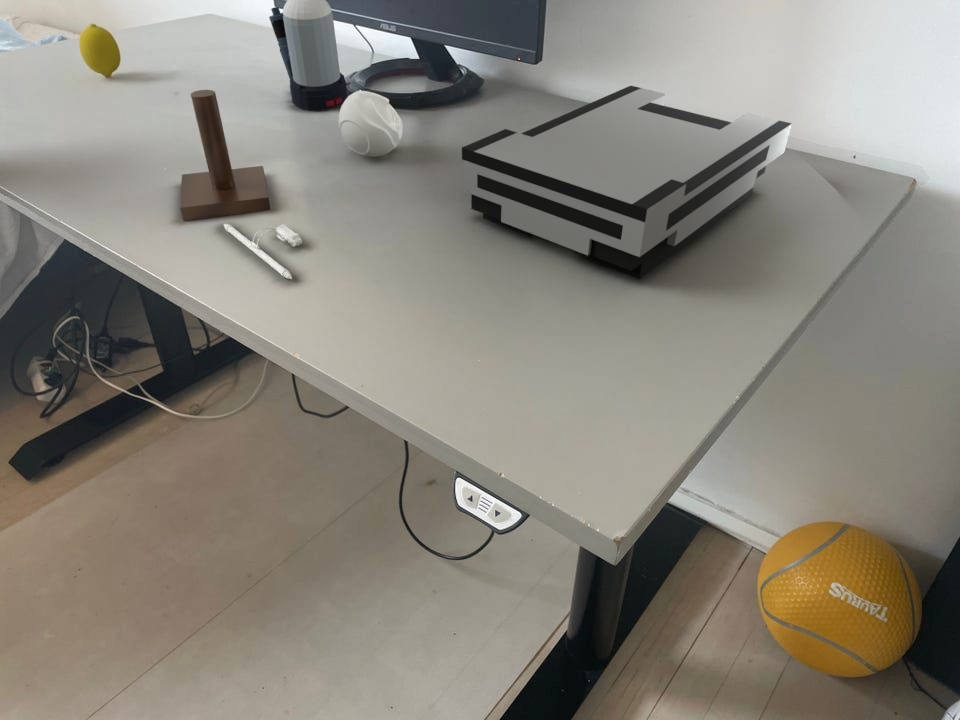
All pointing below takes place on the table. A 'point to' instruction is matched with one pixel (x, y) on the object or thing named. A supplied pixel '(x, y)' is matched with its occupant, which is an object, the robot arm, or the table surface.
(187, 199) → the stand
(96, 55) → the lemon
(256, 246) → the picture light
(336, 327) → the table surface
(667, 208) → the game console
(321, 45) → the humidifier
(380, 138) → the white ridged ball
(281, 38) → the vaping device
